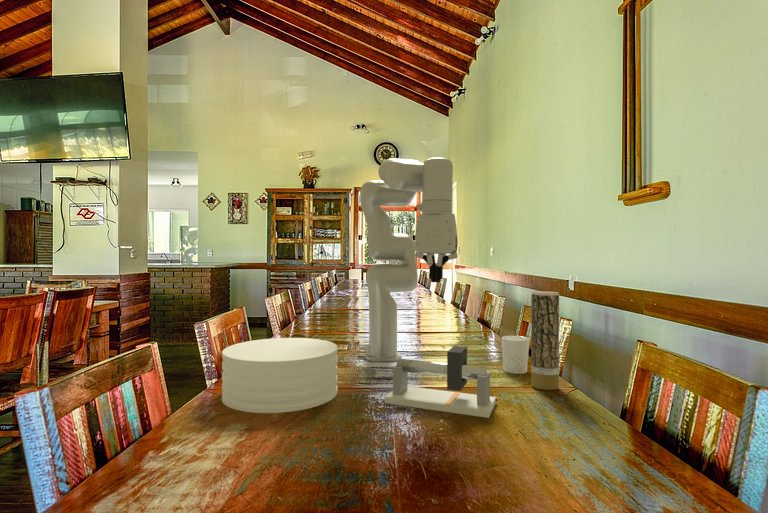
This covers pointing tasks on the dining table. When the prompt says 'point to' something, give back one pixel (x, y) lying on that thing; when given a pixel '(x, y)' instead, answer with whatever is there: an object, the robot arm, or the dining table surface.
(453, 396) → the orange strap
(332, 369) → the plate stack
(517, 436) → the dining table surface
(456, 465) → the dining table surface
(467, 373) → the pipe
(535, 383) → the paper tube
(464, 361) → the collar
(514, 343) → the white cup
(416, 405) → the pipe stand
